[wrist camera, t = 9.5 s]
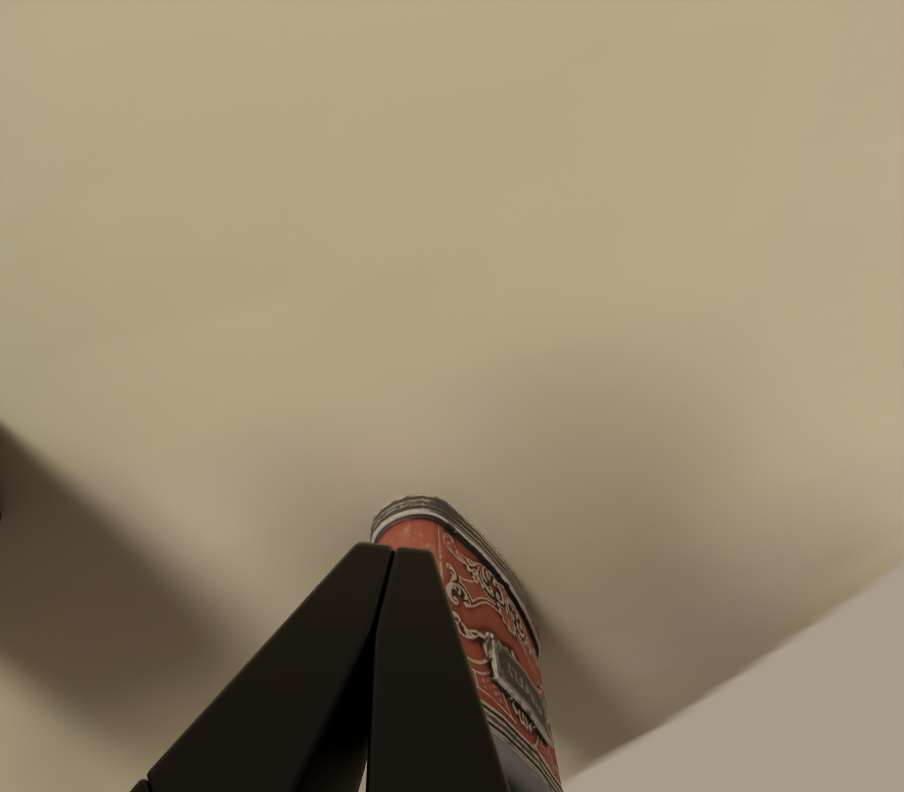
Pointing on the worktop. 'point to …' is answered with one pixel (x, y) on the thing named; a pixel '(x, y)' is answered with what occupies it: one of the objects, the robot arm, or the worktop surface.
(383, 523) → the red patterned tin
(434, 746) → the robot arm
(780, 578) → the worktop surface
